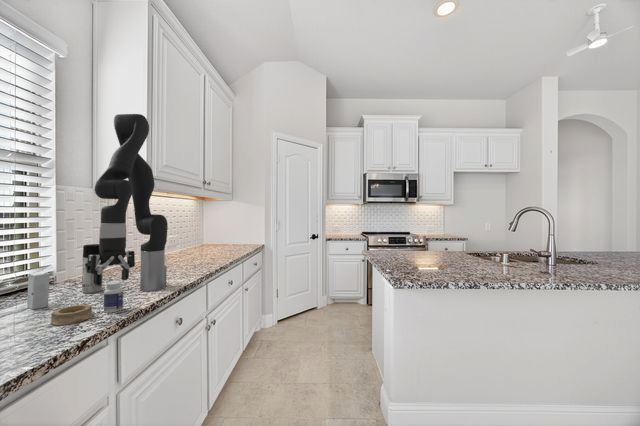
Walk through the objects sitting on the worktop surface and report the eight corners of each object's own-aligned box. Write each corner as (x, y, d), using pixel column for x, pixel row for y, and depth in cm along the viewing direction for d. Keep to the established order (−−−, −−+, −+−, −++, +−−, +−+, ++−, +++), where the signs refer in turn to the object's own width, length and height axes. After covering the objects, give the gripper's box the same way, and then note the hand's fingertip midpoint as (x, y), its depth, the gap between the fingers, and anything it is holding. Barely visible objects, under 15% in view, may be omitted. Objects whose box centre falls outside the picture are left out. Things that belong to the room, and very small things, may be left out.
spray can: (85, 290, 119) (85, 244, 119) (104, 288, 122) (105, 243, 122) (79, 294, 113) (80, 246, 113) (100, 292, 116) (100, 245, 116)
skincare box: (26, 306, 99) (26, 273, 98) (43, 303, 102) (43, 270, 102) (32, 310, 96) (32, 275, 95) (49, 306, 99) (50, 272, 99)
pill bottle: (121, 311, 95) (121, 283, 95) (102, 314, 93) (102, 285, 93) (124, 306, 100) (124, 280, 100) (105, 309, 98) (106, 281, 98)
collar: (80, 311, 95) (80, 302, 95) (99, 315, 91) (99, 306, 91) (43, 322, 86) (43, 312, 86) (62, 327, 82) (62, 317, 82)
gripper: (126, 234, 104) (125, 277, 104) (82, 236, 91) (81, 286, 91) (140, 235, 101) (139, 279, 101) (96, 238, 88) (95, 288, 88)
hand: (111, 282), depth 96 cm, fingers open, 8 cm apart
